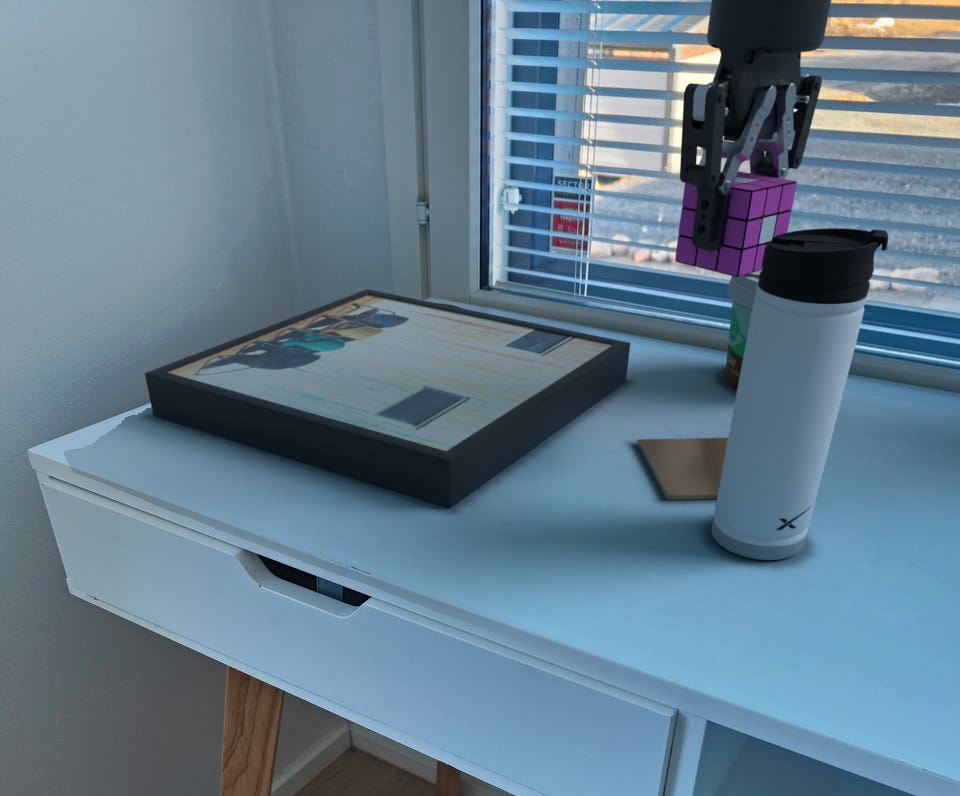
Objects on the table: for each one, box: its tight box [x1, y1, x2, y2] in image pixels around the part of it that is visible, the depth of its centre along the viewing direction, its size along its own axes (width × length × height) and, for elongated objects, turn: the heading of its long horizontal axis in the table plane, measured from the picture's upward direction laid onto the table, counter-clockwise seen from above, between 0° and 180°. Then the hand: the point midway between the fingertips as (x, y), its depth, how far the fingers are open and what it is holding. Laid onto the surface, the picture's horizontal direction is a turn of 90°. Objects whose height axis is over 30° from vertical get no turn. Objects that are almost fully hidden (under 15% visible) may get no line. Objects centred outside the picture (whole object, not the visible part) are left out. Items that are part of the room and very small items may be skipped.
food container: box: [724, 270, 762, 391], centre depth 85 cm, size 12×6×10 cm, turn 6°
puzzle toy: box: [674, 170, 798, 277], centre depth 68 cm, size 6×6×6 cm
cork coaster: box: [636, 437, 728, 501], centre depth 73 cm, size 10×10×1 cm
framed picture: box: [144, 288, 631, 509], centre depth 83 cm, size 30×4×30 cm
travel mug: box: [710, 227, 889, 561], centre depth 58 cm, size 6×7×20 cm
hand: (731, 240), depth 69 cm, fingers closed on puzzle toy, 6 cm apart
